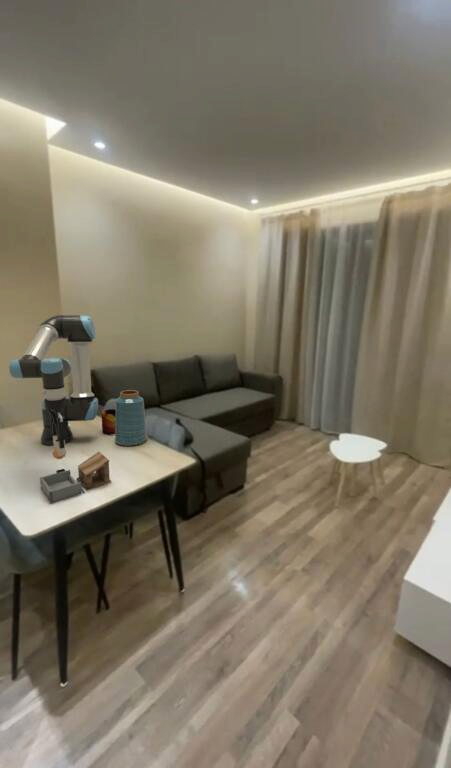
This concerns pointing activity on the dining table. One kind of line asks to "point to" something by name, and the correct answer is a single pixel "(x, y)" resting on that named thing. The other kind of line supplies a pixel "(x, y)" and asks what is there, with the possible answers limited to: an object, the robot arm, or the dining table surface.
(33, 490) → the dining table surface
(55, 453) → the ball
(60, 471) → the dark open box
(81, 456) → the dining table surface
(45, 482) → the bin
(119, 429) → the vase
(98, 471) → the wooden cubby
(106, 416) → the mug
